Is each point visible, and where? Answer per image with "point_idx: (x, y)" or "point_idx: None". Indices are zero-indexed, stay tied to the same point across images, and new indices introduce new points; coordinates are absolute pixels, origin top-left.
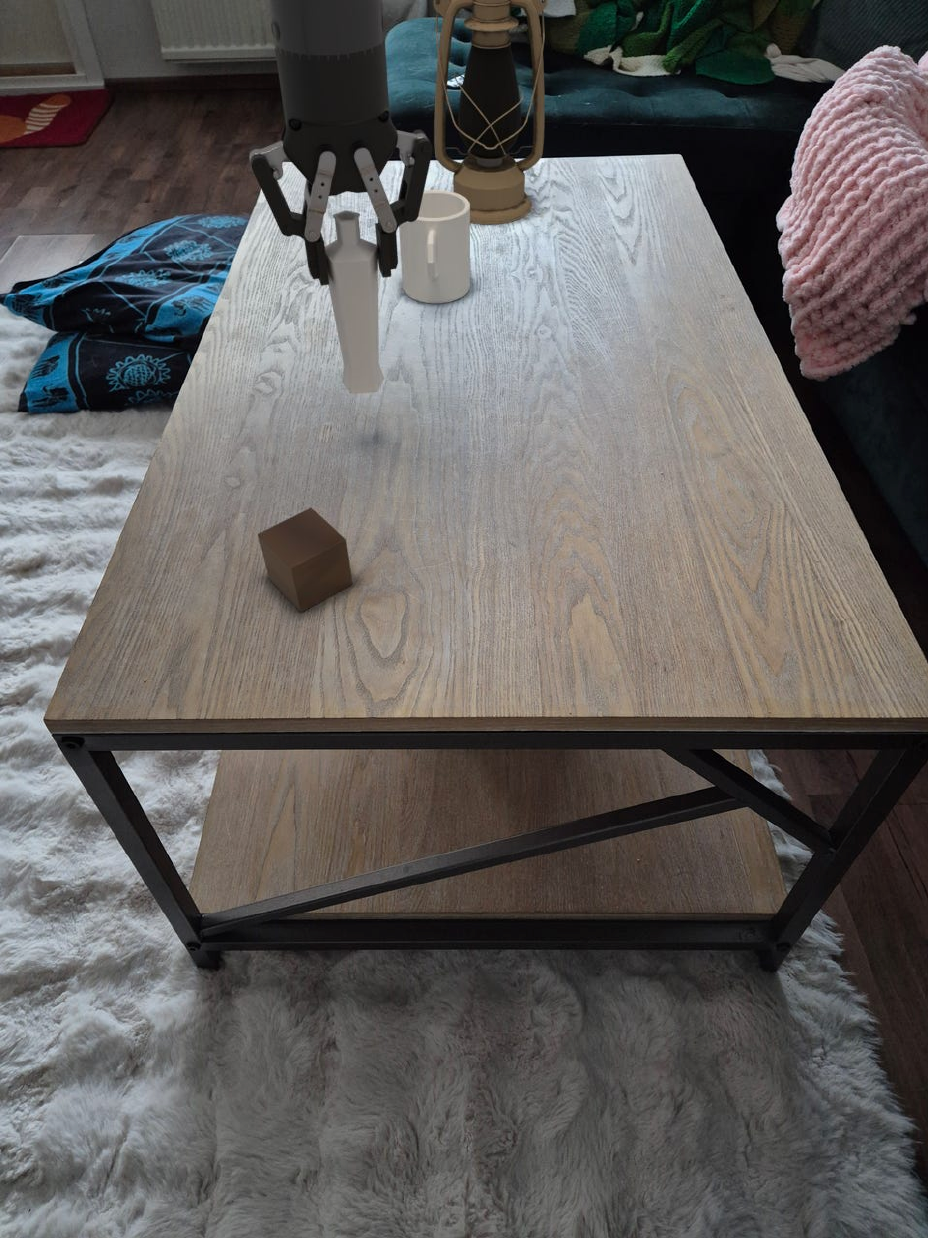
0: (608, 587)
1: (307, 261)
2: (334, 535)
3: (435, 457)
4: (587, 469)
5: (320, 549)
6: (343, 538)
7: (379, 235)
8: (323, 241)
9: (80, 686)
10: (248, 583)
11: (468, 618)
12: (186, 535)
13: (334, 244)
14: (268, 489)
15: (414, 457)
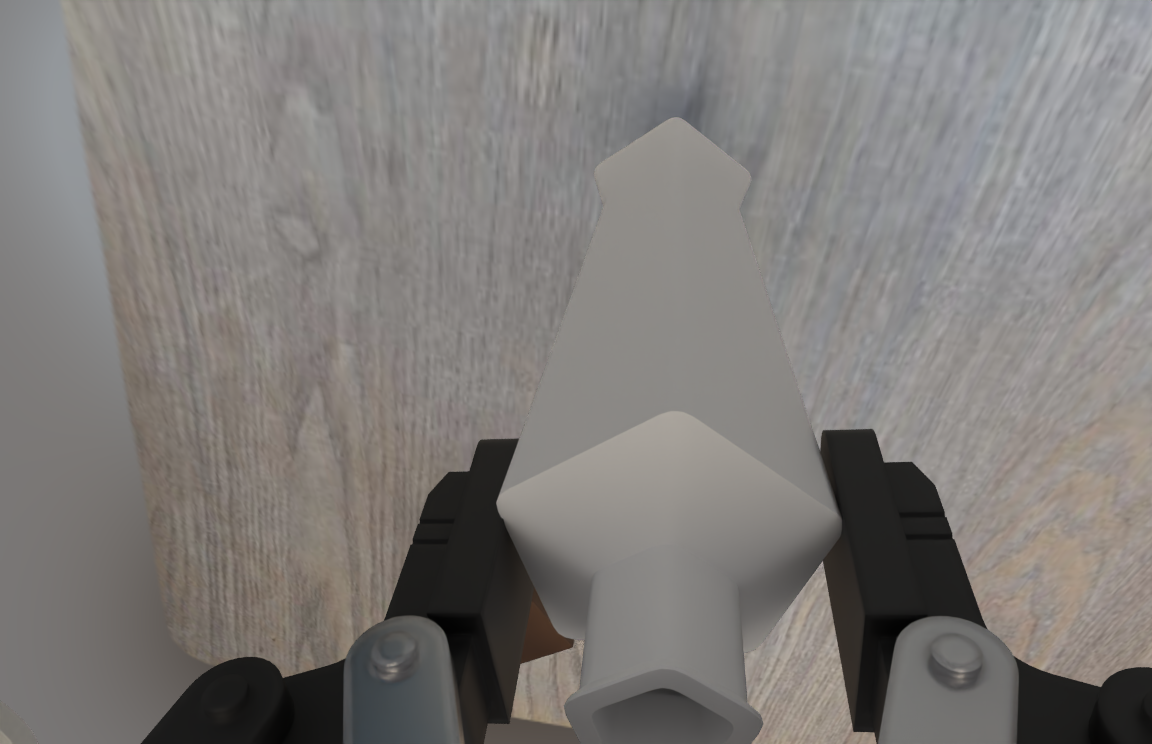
0: (1049, 641)
1: (423, 516)
2: (550, 636)
3: (850, 234)
4: None
5: (523, 658)
6: (568, 646)
7: (852, 698)
8: (506, 721)
9: (183, 629)
10: (393, 517)
11: (774, 644)
12: (239, 385)
13: (573, 577)
14: (393, 278)
15: (790, 224)
